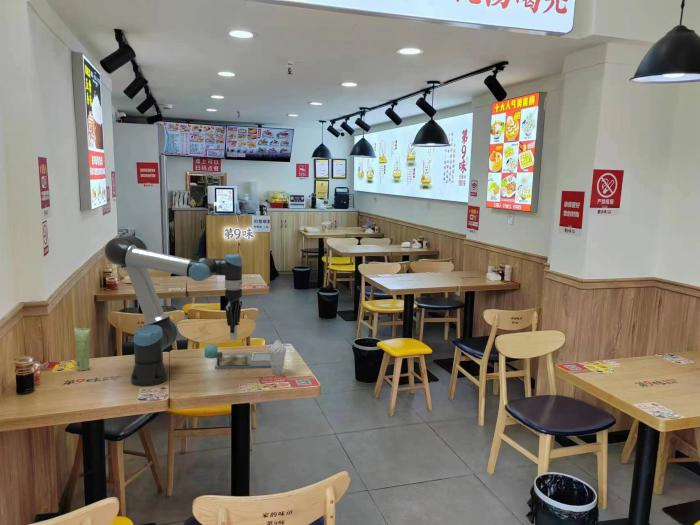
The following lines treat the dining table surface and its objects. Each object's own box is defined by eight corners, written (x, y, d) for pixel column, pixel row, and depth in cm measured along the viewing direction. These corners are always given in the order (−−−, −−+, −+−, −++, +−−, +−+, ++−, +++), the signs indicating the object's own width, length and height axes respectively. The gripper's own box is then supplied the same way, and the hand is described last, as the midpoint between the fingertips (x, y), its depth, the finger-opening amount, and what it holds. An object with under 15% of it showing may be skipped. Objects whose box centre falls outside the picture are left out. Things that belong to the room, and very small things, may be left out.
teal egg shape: (203, 358, 260) (203, 347, 259) (205, 354, 266) (205, 344, 265) (216, 358, 261) (216, 347, 260) (218, 354, 267) (218, 343, 266)
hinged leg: (216, 365, 245) (216, 353, 244) (217, 363, 248) (217, 351, 247) (247, 365, 247) (247, 353, 246) (247, 362, 250) (247, 351, 249)
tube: (89, 366, 244) (87, 326, 241) (92, 369, 240) (90, 328, 237) (75, 368, 240) (74, 327, 237) (78, 371, 236) (76, 330, 234)
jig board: (215, 369, 245) (215, 365, 244) (219, 355, 264) (219, 352, 264) (279, 367, 249) (279, 363, 249) (278, 354, 269) (278, 351, 268)
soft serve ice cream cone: (284, 376, 237) (285, 343, 235) (266, 376, 237) (266, 342, 235) (287, 370, 245) (287, 338, 243) (269, 370, 245) (270, 337, 243)
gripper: (234, 291, 227) (234, 343, 230) (247, 286, 240) (247, 336, 243) (218, 290, 229) (219, 342, 232) (232, 285, 241) (232, 334, 245)
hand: (233, 339), depth 237 cm, fingers closed
